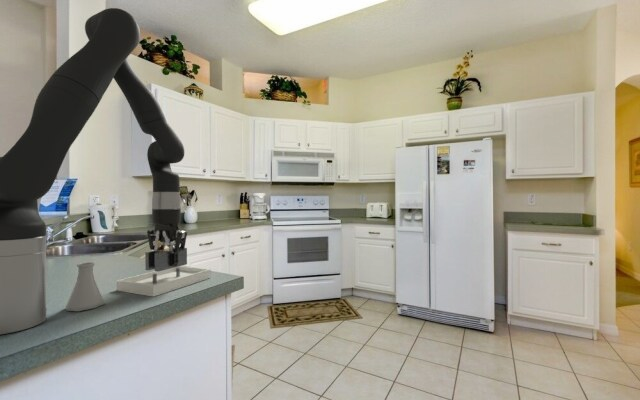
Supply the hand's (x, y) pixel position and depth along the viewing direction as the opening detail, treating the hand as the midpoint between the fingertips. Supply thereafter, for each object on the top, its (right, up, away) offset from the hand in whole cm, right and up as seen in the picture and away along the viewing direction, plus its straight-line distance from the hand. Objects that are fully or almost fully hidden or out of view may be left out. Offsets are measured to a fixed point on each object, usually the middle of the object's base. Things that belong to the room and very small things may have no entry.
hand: (166, 264), depth 88 cm
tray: (0, -5, 0) cm, 5 cm away
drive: (0, -1, 0) cm, 1 cm away
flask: (-9, -6, -19) cm, 22 cm away
